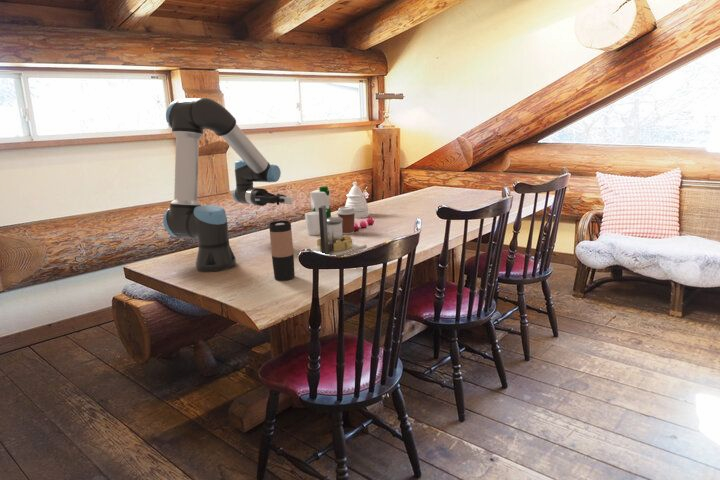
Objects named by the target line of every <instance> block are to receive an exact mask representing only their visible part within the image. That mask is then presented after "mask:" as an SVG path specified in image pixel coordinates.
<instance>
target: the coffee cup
mask: <svg viewBox="0 0 720 480" xmlns="http://www.w3.org/2000/svg"><path fill="white" fill-rule="evenodd" d="M335 213H336V215H337V217H340V218H342V220H343V221H342V233H343V235H352V234H354V233H355V218H354V216H355V213H356V211H355V210H354V208H353V207H345V206H341V207H339V208H338V210H337V211H336V212H335Z"/></svg>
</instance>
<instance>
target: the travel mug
mask: <svg viewBox="0 0 720 480" xmlns="http://www.w3.org/2000/svg"><path fill="white" fill-rule="evenodd" d="M268 224H269V227H268V228H269V239H270V249H271V260H272V261H271V262H272V269H273V277H274V280H275V281H280V282H285V281H286V282H287V281H290V280H293V279H294V278H295V277H296V275H295V273H296V272H295V255H294V254H295V253H294V244H293V233H292V222H290V221H289V220H275V221H271V222H270V223H268Z"/></svg>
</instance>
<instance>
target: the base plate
mask: <svg viewBox="0 0 720 480" xmlns="http://www.w3.org/2000/svg"><path fill="white" fill-rule="evenodd" d="M352 245H353V246H352V247H351V248H349V249H345V250H341V251H333V252H332V253H331V255H338V256H341V255H343V254H342V253H344V254H346V253H345V252H348V251H351V250H354V251H356V250H355V249H357V250H359V249H358V248H360V249H363V248H366V247H367V244H364V243H358V242H355V241H354V242H353V241H352ZM362 247H363V248H362ZM307 248H308V247H307ZM307 248H305V249H307ZM309 248H310V249H312V250H316V251H320V252H321V250H319V249H318V248H317V245H314V246H311V247H309ZM351 252H352V251H351ZM348 253H349V252H348ZM340 254H341V255H340Z"/></svg>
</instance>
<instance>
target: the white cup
mask: <svg viewBox="0 0 720 480" xmlns="http://www.w3.org/2000/svg"><path fill="white" fill-rule="evenodd" d="M304 217H305V225H306V231H307V235H308V236H319V235H320V223H319V212H312V211H309V212H306V213H304Z"/></svg>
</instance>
